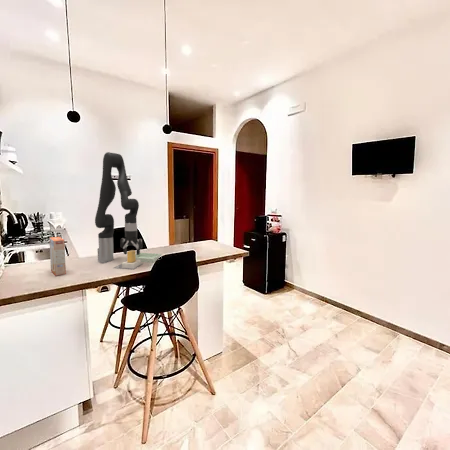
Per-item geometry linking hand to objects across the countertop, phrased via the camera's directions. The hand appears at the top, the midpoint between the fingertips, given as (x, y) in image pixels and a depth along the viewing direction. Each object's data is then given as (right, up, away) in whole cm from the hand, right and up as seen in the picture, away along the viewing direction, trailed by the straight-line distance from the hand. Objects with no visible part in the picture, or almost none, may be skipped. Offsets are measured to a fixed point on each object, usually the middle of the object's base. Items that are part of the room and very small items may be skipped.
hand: (131, 254), depth 170 cm
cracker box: (-40, -10, -13) cm, 43 cm away
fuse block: (-2, -9, +2) cm, 9 cm away
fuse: (0, -8, +1) cm, 8 cm away
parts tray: (+3, -6, +20) cm, 21 cm away
